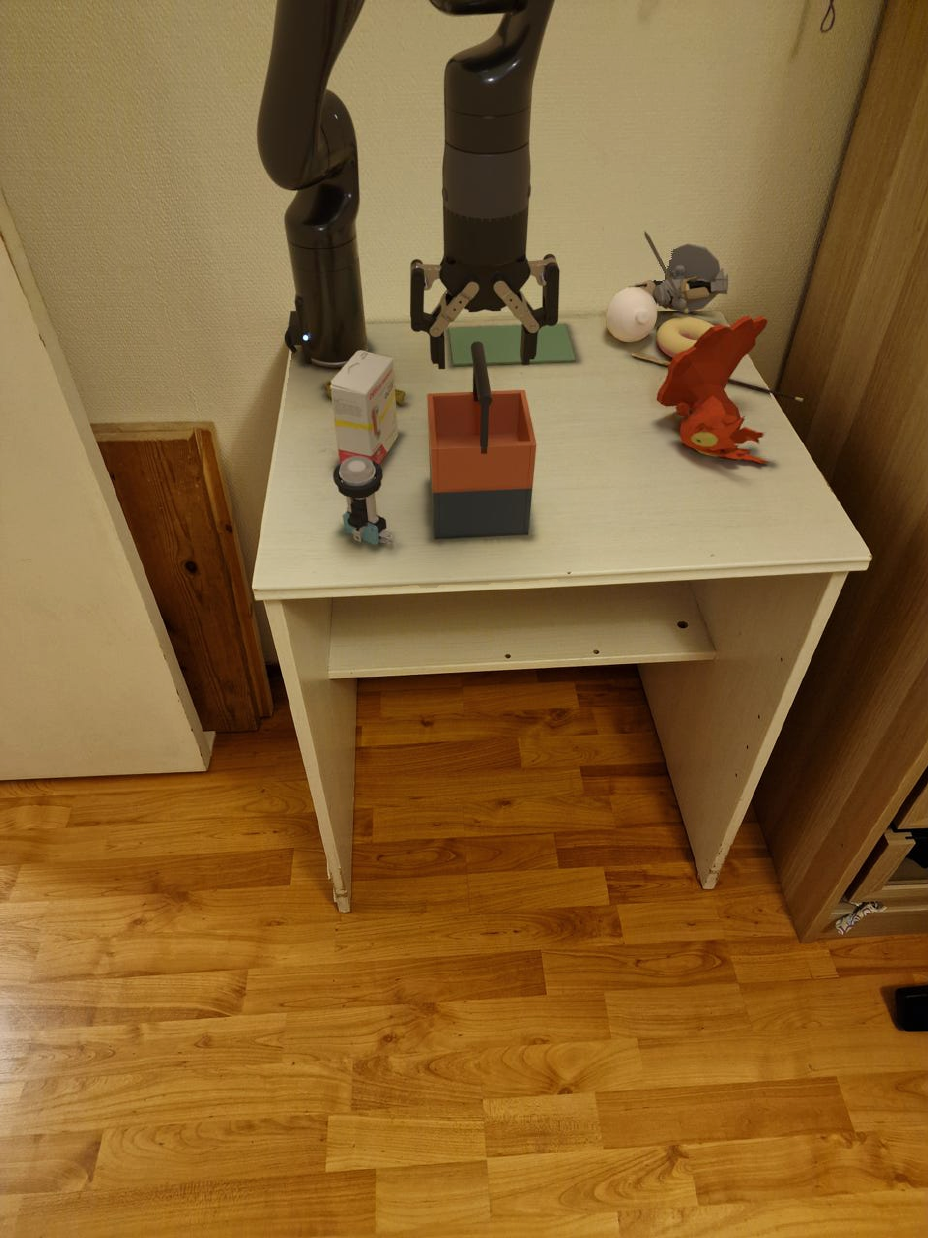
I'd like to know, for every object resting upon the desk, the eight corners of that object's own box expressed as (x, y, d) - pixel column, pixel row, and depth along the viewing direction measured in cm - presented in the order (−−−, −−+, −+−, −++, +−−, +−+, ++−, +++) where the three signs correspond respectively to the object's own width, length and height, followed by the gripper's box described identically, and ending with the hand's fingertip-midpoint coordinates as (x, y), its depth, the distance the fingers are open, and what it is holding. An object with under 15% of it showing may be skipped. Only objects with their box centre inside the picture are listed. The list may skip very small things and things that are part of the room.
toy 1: (712, 176, 108) (605, 200, 115) (705, 243, 105) (596, 264, 112) (734, 276, 125) (640, 292, 132) (729, 337, 122) (632, 350, 129)
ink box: (374, 475, 100) (365, 393, 91) (338, 466, 101) (326, 385, 92) (400, 435, 106) (395, 355, 97) (366, 428, 107) (357, 347, 98)
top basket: (432, 493, 88) (429, 397, 78) (428, 437, 94) (425, 342, 85) (532, 488, 88) (541, 392, 79) (521, 433, 95) (528, 339, 85)
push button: (406, 534, 94) (401, 466, 86) (378, 561, 91) (371, 493, 83) (361, 513, 96) (352, 444, 88) (332, 538, 93) (321, 470, 85)
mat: (453, 366, 116) (453, 363, 116) (448, 330, 123) (448, 327, 123) (575, 361, 117) (575, 359, 117) (564, 326, 124) (565, 323, 124)
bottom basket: (434, 539, 93) (432, 493, 88) (430, 483, 99) (428, 437, 94) (528, 534, 94) (532, 488, 88) (518, 479, 100) (521, 433, 95)
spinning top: (618, 347, 128) (649, 355, 117) (581, 321, 125) (608, 326, 114) (645, 302, 126) (679, 306, 115) (608, 275, 123) (639, 276, 112)
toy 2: (640, 380, 100) (712, 464, 94) (761, 288, 97) (843, 369, 90) (658, 425, 111) (723, 503, 105) (767, 344, 108) (841, 419, 102)
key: (408, 387, 110) (393, 407, 107) (409, 396, 111) (394, 416, 108) (332, 371, 113) (315, 390, 110) (333, 379, 114) (316, 398, 111)
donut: (687, 385, 117) (732, 358, 120) (695, 361, 113) (742, 333, 116) (641, 345, 121) (686, 320, 124) (647, 321, 117) (693, 295, 119)
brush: (630, 352, 118) (802, 399, 110) (633, 349, 118) (804, 396, 111) (629, 357, 118) (801, 404, 111) (632, 354, 119) (802, 400, 112)
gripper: (560, 176, 72) (546, 340, 84) (402, 181, 71) (411, 346, 84) (574, 211, 67) (557, 380, 80) (404, 217, 67) (414, 387, 79)
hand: (482, 363), depth 82 cm, fingers open, 8 cm apart
